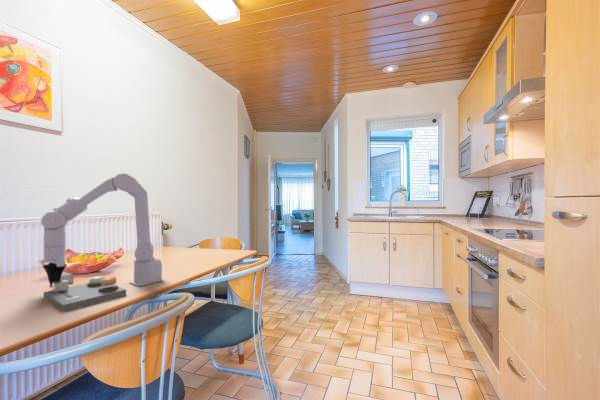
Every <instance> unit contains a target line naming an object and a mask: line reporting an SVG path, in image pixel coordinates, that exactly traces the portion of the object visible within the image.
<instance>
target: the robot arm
mask: <svg viewBox="0 0 600 400" xmlns="http://www.w3.org/2000/svg"><path fill="white" fill-rule="evenodd" d="M118 190H120V191H122V192H125V193H127V194H129V195H130V196H131V197H133V198H134V212H135V225H136V226H135V227H136V230H135V231H136V249H135V251H134V257H135V259H134V260H133V280H132V281H129V283H130V284H131V285H134V286H137V287H142V286H145V285H150V284H154V283H157V282H162V281H163V280H164V279H163V278H162V276H163V272H162V271H163V265H162V260H161V259H160V258H156V257H154V256H153V255H154V250H155V249H154V247H153V244H152V242H151V236H150V235H151V234H150V233H151V232H150V219H149V217H150V215H149V199H148V192H147V191H146V189H144V187H143V186H142V185H141V183H139V182H138V180H137V179H136V178H134V177H133V176H131V175H129V174H128V173H123V172H121V173H118V174H116V175H115V176H114V177H111V178H109V179H106V180H105V181H103V182H102V183H100V184H99V185H98V186H96V187H95V188H93V189H92V190H89V191H88V193H85V194H84V195H83V196H82V197H73V198H67V199H66V200H65V201H66V202H65V203H64V204H62V205H60V206H59V207H55V208H53V209H52V210H53V211H50V212H46V213H45V214H44V215H43V216H42V217H41V221H40V222H41V223H40V224H41V225H42V227H43V259H39V260H38V262H39V263H45V264H43V265H42V268H43V269H44V271H45V273H46V275H47V278H48V282H49V286H50V285H52V282H56V281H60V279H61V276H63V272H64V270H65V269H66V267H67V263H66V259H67V257H66V225H67V223H68V222H69V221H71V220H73V219H75V218H77V217H78V216H80V215H81V214H82V213H84V212H86V211H87V210H88V205H89V204H91V203H93V202H94V201H96V200H97V199H99V198H100V197H102V196H104V195H106V194H107V193H111V192H117V191H118ZM46 263H48V264H46Z"/></svg>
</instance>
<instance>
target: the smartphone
mask: <svg viewBox="0 0 600 400" xmlns="http://www.w3.org/2000/svg"><path fill="white" fill-rule="evenodd" d="M61 280H67V281H69V285H73V284H74V274H68V275H67V274H66V275H61V279H60V281H61ZM49 288H52V285H50V284H49Z"/></svg>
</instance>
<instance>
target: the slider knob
mask: <svg viewBox="0 0 600 400" xmlns="http://www.w3.org/2000/svg"><path fill="white" fill-rule="evenodd" d="M69 285H70V284H69V281H67V280H61V281H56V282H52V287H51V291H53V292H54V293H56V292H61V291H66V290H69V287H70V286H69Z"/></svg>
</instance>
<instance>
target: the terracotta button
mask: <svg viewBox="0 0 600 400" xmlns="http://www.w3.org/2000/svg"><path fill="white" fill-rule="evenodd" d="M116 284H117V277H116V276H109V277H104V278H103V279H101V286H108V285H116Z"/></svg>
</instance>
